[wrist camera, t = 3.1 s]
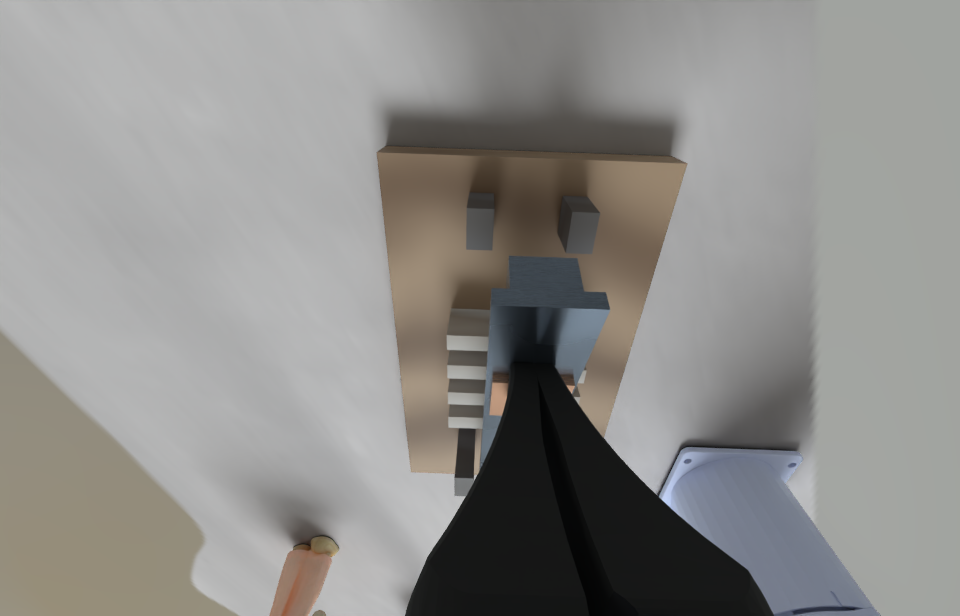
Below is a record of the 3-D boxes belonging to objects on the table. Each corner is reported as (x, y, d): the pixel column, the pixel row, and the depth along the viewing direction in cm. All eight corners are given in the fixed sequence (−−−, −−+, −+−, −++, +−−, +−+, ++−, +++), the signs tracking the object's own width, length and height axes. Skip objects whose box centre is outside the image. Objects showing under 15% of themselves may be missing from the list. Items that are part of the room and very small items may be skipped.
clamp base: (586, 459, 26) (604, 533, 22) (414, 453, 27) (400, 525, 22) (671, 156, 16) (737, 187, 12) (385, 145, 16) (347, 173, 12)
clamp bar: (530, 446, 23) (532, 491, 21) (480, 444, 23) (478, 489, 21) (596, 253, 11) (613, 322, 9) (492, 249, 11) (491, 317, 9)
